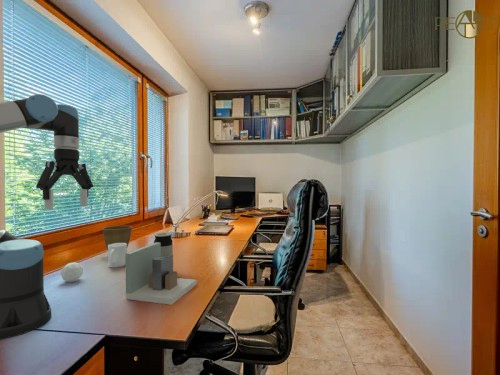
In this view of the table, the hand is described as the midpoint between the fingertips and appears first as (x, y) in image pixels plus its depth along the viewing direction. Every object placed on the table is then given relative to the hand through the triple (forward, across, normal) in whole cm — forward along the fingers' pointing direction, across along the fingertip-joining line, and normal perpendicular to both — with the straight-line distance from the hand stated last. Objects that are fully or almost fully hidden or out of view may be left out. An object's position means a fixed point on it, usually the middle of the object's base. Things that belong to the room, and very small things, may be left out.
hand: (67, 207), depth 96 cm
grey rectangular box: (+30, +11, -32) cm, 45 cm away
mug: (+32, +32, +8) cm, 46 cm away
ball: (+32, +11, +11) cm, 35 cm away
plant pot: (+32, +49, +22) cm, 62 cm away
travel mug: (+32, +28, -21) cm, 47 cm away
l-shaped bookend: (+32, +11, -32) cm, 46 cm away
